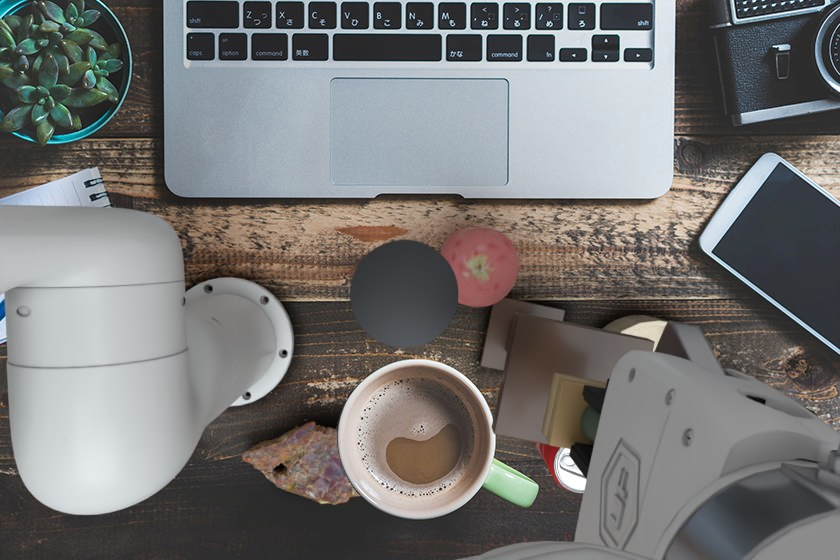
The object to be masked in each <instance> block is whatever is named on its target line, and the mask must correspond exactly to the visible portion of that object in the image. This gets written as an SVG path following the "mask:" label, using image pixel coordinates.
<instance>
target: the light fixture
mask: <svg viewBox="0 0 840 560" xmlns="http://www.w3.org/2000/svg"><path fill="white" fill-rule="evenodd" d="M349 288H350V289H349V300H350V306H351V310H352V313H353V315H354V318H355V319H356V321H357V323H358V324H359V326H360V327H361V328H362V330H363V331H364V332H365V333H366V334H367V335H368V336H369V337H371V338H372V339H374V340H375V341H377V342H378V343H381V344H383V345H386V346H389V347H392V348H398V349H410V348H416V347H417V348H418V347H421V346H424V345H426V344H428V343H430V342H432V341H434V340H435V339H436V338H438V337H440V336H441V334H442V333H444V332H445V331H446V329H447V328H448V327H449V326H450V324H451V322H452V321H453V319H454V317H455V315H456V311H457V309H458V304H459V303H458V284H457V279H456V276H455V273H454V271H453V269H452V267H451V266H450V264H449V263H448V261H447V260H446V259H445V258H444V257H443V256H442V255H441V254H440V251H438V250H436V249H435V248H434V247H432V246H431V245H428V244H427V243H424V242H421V241H417V240H411V239H396V240H391V241H387V242H385V243H382V244H380V245H379V246H376V247H375V248H374V249H372V250H370V251H369V252H368V253H367V254H366V255H365V256H364V257H363V258H362V259H361V261H360V262H359V264H358V265H357V266H356V269H355V270H354V272H353V274H352V278H351V282H350V287H349Z"/></svg>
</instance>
